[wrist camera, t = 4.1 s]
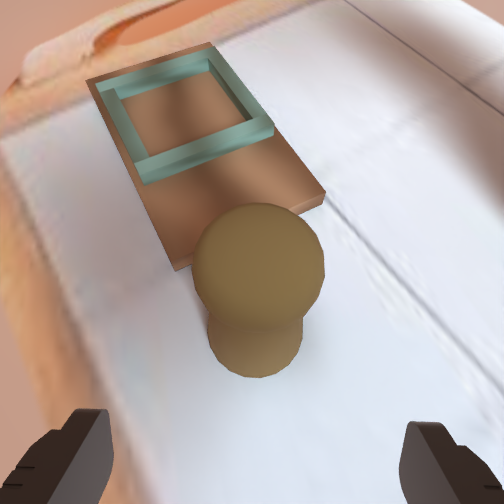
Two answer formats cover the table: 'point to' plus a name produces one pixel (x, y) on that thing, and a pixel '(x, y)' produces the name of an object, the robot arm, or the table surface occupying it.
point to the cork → (257, 285)
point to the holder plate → (198, 145)
